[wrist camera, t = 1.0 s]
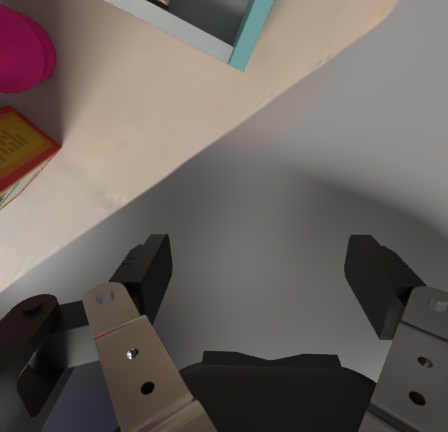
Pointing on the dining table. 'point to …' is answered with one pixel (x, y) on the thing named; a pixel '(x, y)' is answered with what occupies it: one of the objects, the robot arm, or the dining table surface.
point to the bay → (207, 24)
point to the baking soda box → (21, 153)
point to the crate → (165, 2)
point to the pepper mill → (23, 52)
